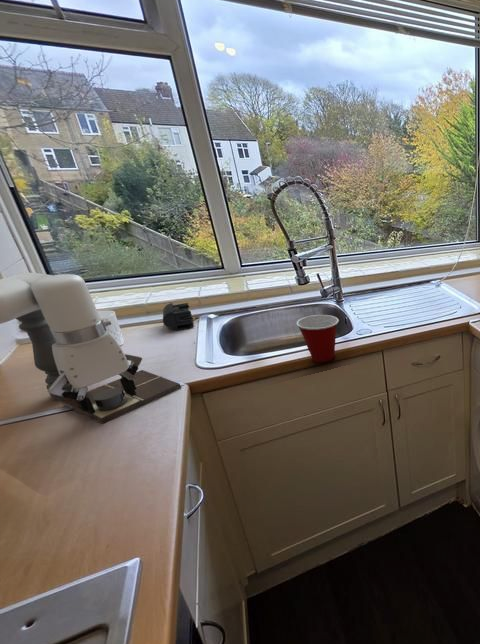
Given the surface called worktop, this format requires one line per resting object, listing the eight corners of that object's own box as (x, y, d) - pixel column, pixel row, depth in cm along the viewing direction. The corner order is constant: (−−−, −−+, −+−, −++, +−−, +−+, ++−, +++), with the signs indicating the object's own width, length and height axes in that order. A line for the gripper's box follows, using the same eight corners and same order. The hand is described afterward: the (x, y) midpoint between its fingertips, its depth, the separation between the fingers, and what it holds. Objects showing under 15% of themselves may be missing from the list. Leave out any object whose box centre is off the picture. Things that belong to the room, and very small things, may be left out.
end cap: (167, 323, 138) (160, 304, 135) (192, 318, 142) (187, 300, 139) (166, 333, 130) (160, 314, 128) (194, 328, 134) (188, 309, 132)
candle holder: (92, 391, 100) (48, 296, 90) (57, 403, 95) (6, 305, 85) (82, 383, 103) (39, 291, 93) (48, 395, 98) (-2, 299, 88)
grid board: (102, 424, 89) (100, 419, 88) (64, 405, 95) (61, 401, 94) (181, 387, 102) (179, 383, 102) (143, 373, 108) (141, 369, 108)
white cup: (127, 337, 127) (115, 308, 123) (126, 347, 121) (114, 316, 117) (92, 344, 122) (79, 314, 118) (89, 354, 117) (75, 322, 113)
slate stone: (105, 413, 90) (100, 402, 89) (92, 408, 92) (87, 396, 91) (132, 401, 94) (127, 390, 93) (119, 396, 96) (115, 385, 95)
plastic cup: (350, 358, 118) (344, 320, 113) (311, 370, 111) (304, 331, 107) (335, 345, 125) (329, 309, 121) (298, 356, 118) (290, 319, 114)
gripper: (119, 315, 95) (145, 380, 102) (12, 346, 80) (51, 420, 87) (138, 321, 92) (163, 387, 99) (31, 354, 77) (70, 429, 84)
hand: (111, 402), depth 93 cm, fingers open, 7 cm apart
